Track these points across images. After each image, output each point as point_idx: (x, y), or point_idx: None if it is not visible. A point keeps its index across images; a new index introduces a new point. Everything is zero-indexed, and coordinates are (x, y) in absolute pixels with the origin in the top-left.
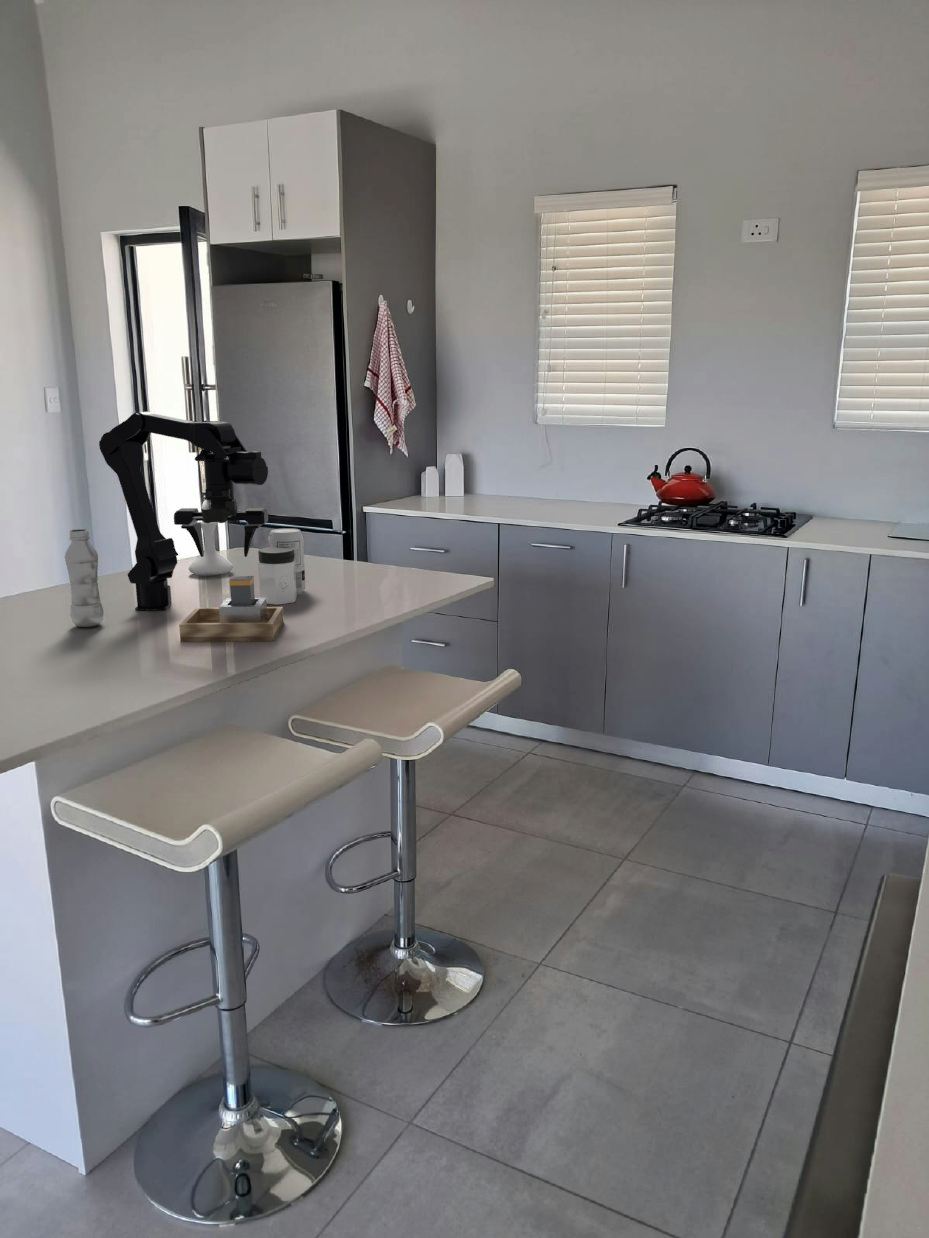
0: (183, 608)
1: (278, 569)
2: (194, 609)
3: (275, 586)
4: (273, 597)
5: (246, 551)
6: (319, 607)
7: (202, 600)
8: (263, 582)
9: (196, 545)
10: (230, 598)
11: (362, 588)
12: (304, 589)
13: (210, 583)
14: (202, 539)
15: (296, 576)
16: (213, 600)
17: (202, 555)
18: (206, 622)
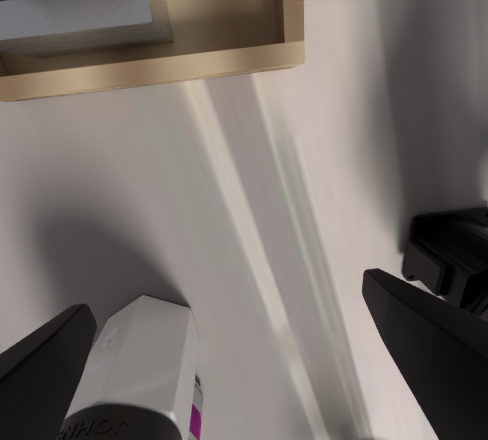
0: (366, 243)
1: (96, 385)
2: (301, 26)
3: (126, 332)
4: (144, 308)
5: (43, 326)
6: (20, 284)
7: (335, 314)
8: (167, 348)
9: (463, 311)
10: (129, 6)
11: None
12: None
13: (347, 422)
14: (434, 424)
15: None
16: (309, 316)
17: (369, 274)
18: (246, 16)
